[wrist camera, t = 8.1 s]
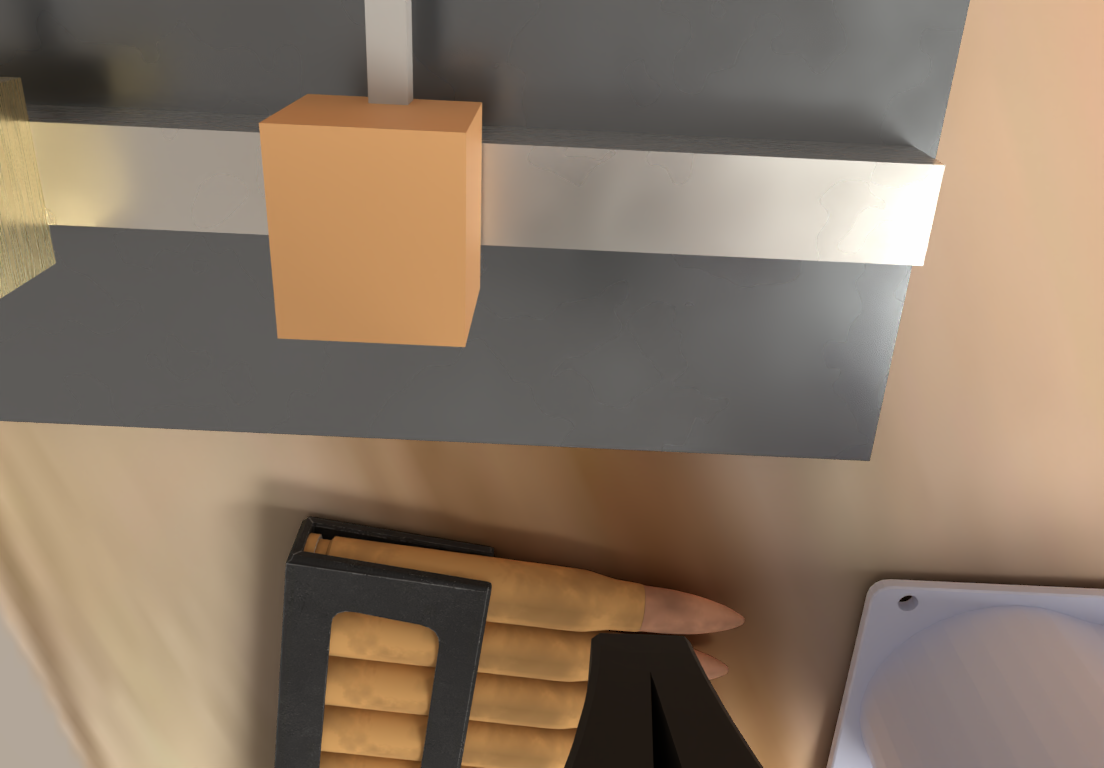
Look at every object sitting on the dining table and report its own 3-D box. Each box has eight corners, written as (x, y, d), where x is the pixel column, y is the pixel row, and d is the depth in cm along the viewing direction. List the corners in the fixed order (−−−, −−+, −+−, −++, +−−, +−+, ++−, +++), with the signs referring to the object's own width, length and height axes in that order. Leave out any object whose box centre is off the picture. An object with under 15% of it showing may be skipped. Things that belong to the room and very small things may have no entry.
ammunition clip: (286, 555, 23) (761, 615, 24) (303, 513, 25) (746, 571, 26) (269, 852, 28) (669, 892, 29) (284, 799, 29) (662, 838, 30)
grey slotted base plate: (982, -153, 18) (1151, -190, 13) (857, 440, 24) (941, 584, 18) (-166, -209, 18) (-470, -270, 13) (-19, 400, 24) (-188, 532, 18)
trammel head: (489, -92, 17) (466, -101, 13) (484, 270, 20) (465, 347, 16) (310, -101, 17) (238, -112, 13) (332, 263, 20) (277, 338, 16)
